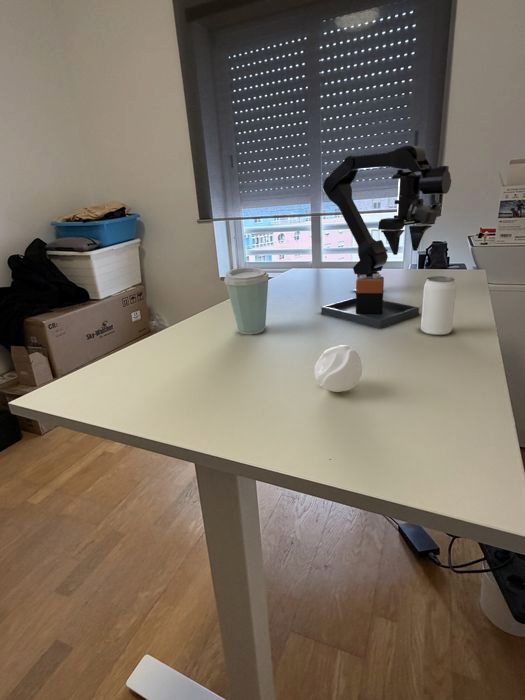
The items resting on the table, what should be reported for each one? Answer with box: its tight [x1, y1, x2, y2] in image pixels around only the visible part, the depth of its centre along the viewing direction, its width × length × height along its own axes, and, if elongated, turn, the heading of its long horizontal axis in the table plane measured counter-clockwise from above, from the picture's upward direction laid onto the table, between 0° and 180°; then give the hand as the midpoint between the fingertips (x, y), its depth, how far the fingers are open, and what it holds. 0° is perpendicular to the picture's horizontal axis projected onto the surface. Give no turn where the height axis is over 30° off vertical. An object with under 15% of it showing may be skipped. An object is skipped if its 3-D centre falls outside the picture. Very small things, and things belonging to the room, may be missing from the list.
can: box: [420, 275, 457, 336], centre depth 90 cm, size 6×6×12 cm
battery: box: [355, 273, 385, 314], centre depth 106 cm, size 4×7×10 cm, turn 74°
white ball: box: [313, 344, 363, 393], centre depth 67 cm, size 8×8×8 cm
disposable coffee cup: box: [223, 266, 270, 335], centre depth 98 cm, size 11×11×15 cm
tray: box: [320, 296, 420, 330], centre depth 108 cm, size 20×16×2 cm
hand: (405, 252), depth 119 cm, fingers open, 9 cm apart
